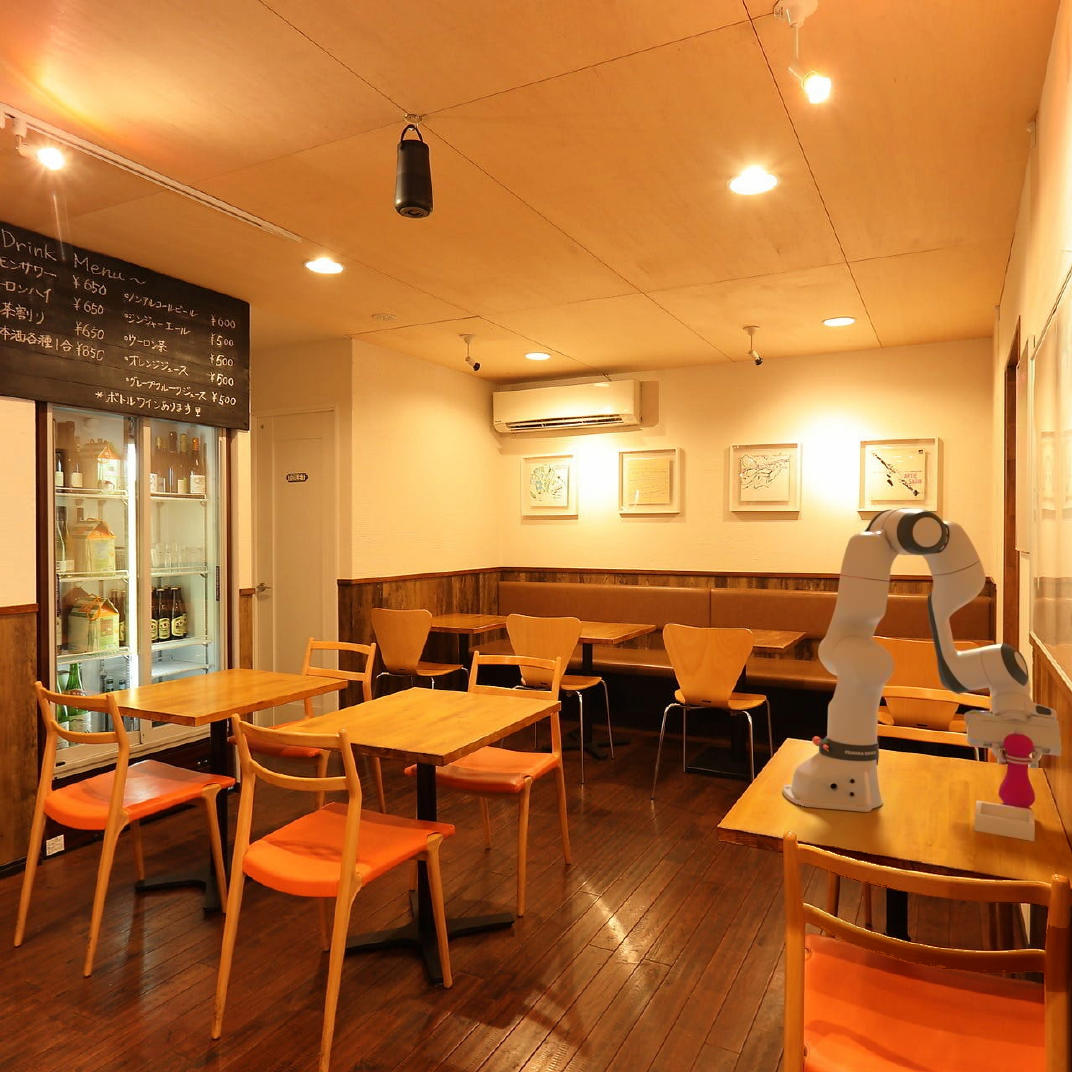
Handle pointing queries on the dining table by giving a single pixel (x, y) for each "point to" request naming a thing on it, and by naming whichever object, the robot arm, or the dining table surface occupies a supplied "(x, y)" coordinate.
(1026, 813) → the mill holder
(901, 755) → the dining table surface
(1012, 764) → the pepper mill
